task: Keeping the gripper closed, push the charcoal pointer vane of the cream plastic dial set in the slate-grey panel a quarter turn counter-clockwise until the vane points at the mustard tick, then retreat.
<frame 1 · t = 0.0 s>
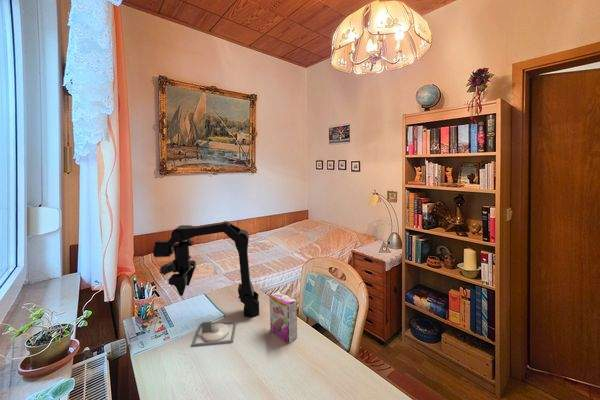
hand: (184, 290, 114), 15 cm above the table, fingers open, 9 cm apart
panel: (215, 336, 107), on the table
candy bar box: (283, 335, 107), on the table
dial: (215, 327, 106), point 4 cm above the table, hinge at 0.0°
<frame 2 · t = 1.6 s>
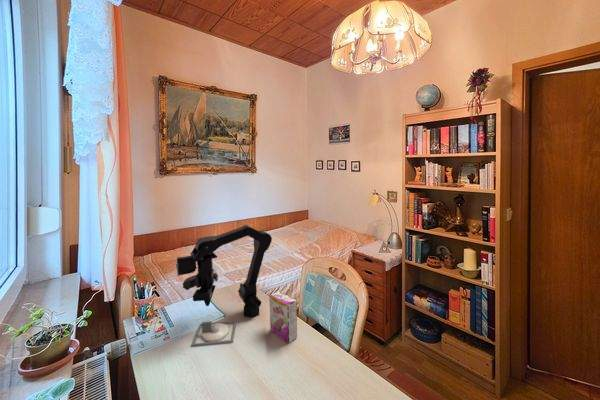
hand: (207, 305, 109), 11 cm above the table, fingers closed
nothing on the table moved.
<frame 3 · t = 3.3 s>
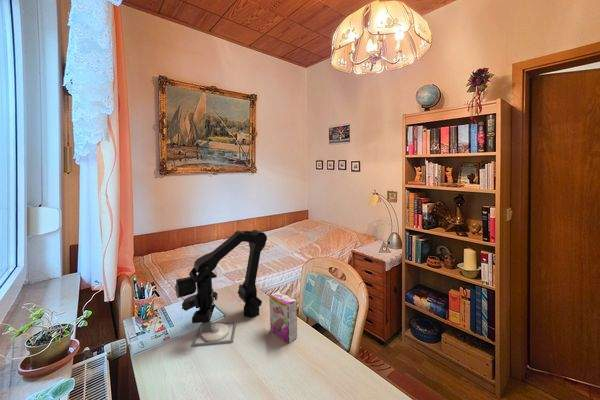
hand: (207, 325, 108), 4 cm above the table, fingers closed
dial: (215, 327, 106), point 4 cm above the table, hinge at 0.2°, touching gripper
everything else where it was.
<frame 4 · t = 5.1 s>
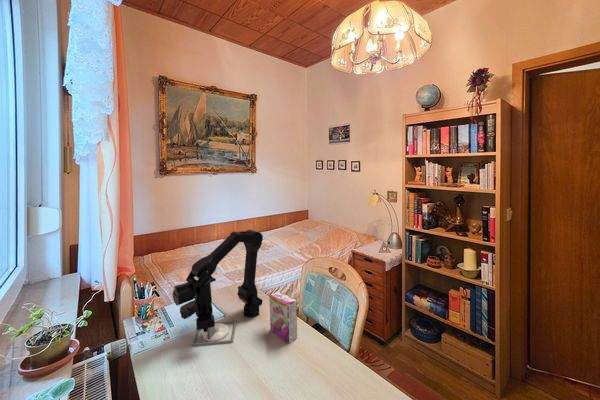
hand: (205, 331, 104), 4 cm above the table, fingers closed
dial: (215, 327, 106), point 4 cm above the table, hinge at 70.1°, touching gripper
everything else where it was.
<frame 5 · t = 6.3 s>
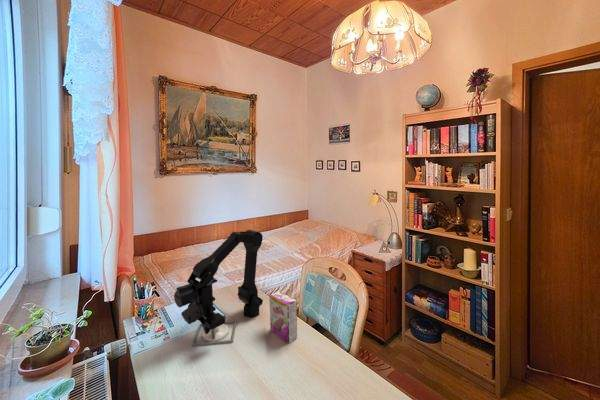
hand: (207, 333, 103), 4 cm above the table, fingers closed
dial: (215, 327, 106), point 4 cm above the table, hinge at 90.6°, touching gripper
everything else where it was.
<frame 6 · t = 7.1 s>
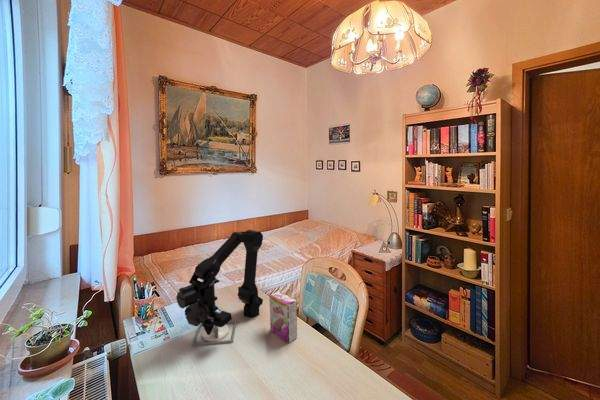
hand: (208, 334, 102), 4 cm above the table, fingers closed
dial: (215, 327, 106), point 4 cm above the table, hinge at 105.6°, touching gripper
everything else where it was.
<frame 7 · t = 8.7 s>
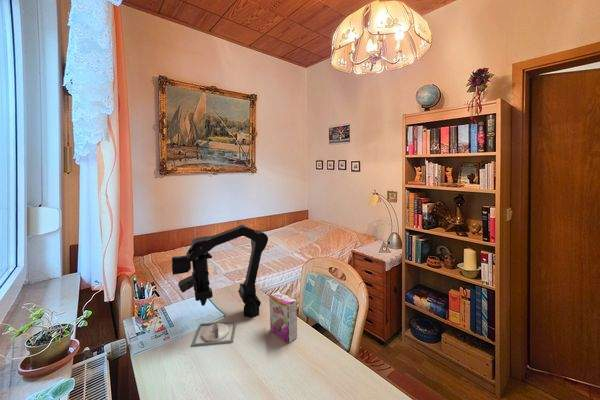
hand: (203, 305, 110), 11 cm above the table, fingers closed
dial: (215, 327, 106), point 4 cm above the table, hinge at 105.9°
everything else where it was.
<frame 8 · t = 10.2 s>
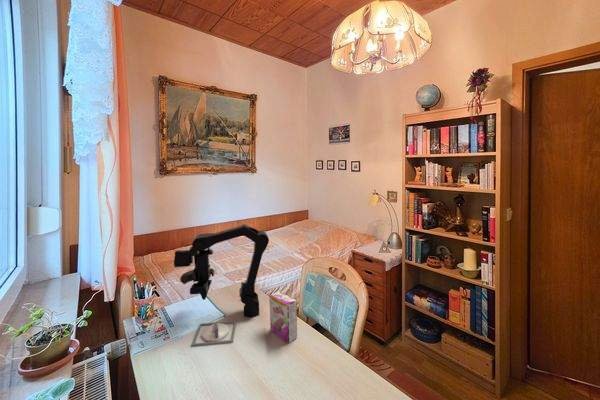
hand: (204, 299, 114), 11 cm above the table, fingers closed
nothing on the table moved.
at the end: dial at +106° (first picture: +0°) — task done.
